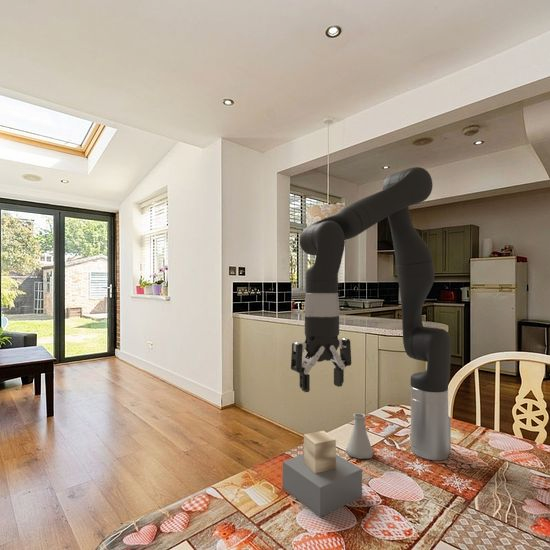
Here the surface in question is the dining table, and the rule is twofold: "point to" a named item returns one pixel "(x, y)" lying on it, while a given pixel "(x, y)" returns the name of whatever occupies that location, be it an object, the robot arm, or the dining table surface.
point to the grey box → (322, 484)
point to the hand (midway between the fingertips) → (322, 388)
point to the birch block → (319, 451)
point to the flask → (359, 439)
